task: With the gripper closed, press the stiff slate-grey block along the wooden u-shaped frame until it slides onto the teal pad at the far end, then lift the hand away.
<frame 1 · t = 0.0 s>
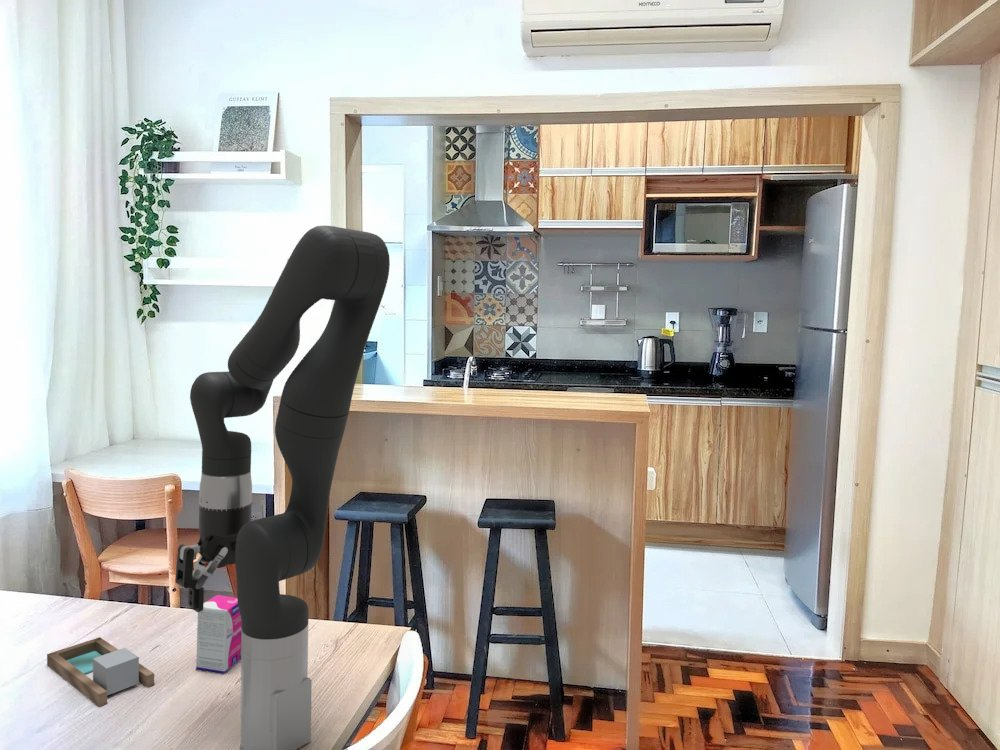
hand: (223, 601, 107), 17 cm above the table, tool pointing down, fingers open, 8 cm apart
wooden u-shaped frame: (99, 675, 116), on the table
supplement box: (220, 665, 121), on the table
jammed block: (115, 670, 113), point 3 cm above the table, slide at 0.0 cm
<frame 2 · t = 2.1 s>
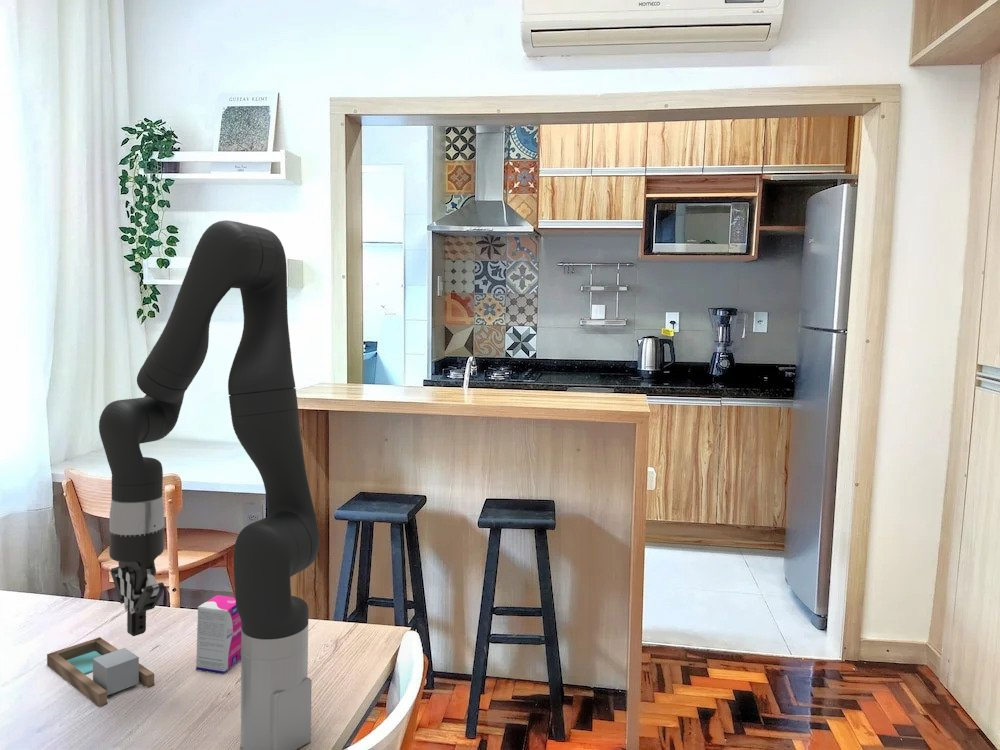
hand: (136, 633, 108), 11 cm above the table, tool pointing down, fingers closed
nothing on the table moved.
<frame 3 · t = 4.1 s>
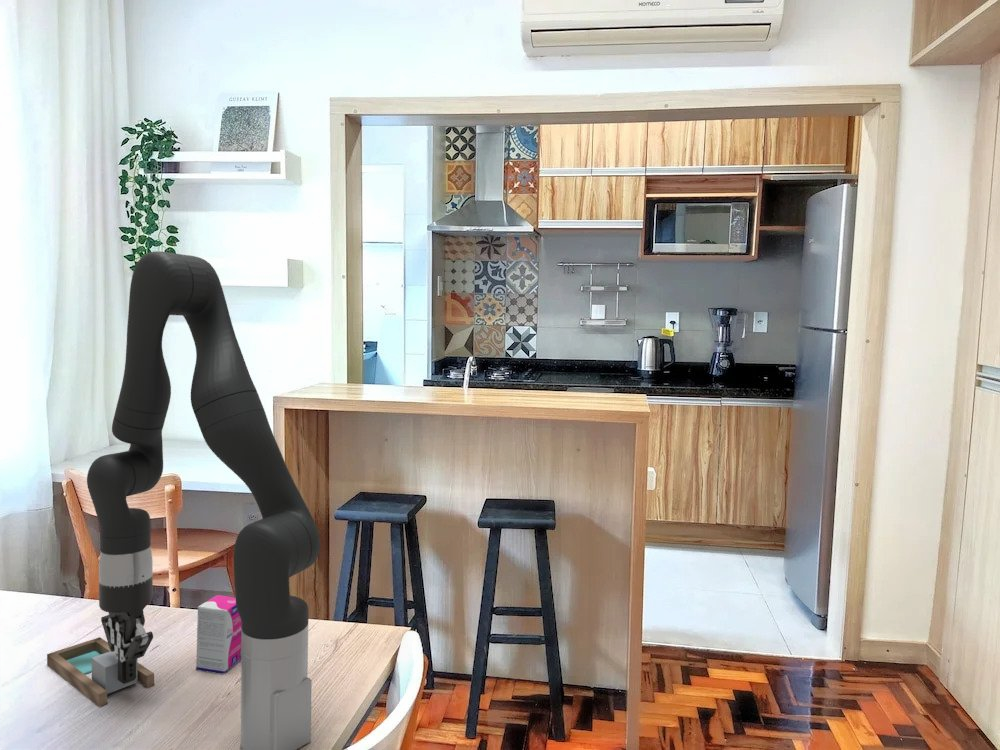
hand: (126, 680, 110), 3 cm above the table, tool pointing down, fingers closed
jammed block: (114, 670, 113), point 3 cm above the table, slide at 0.5 cm, touching gripper
everything else where it was.
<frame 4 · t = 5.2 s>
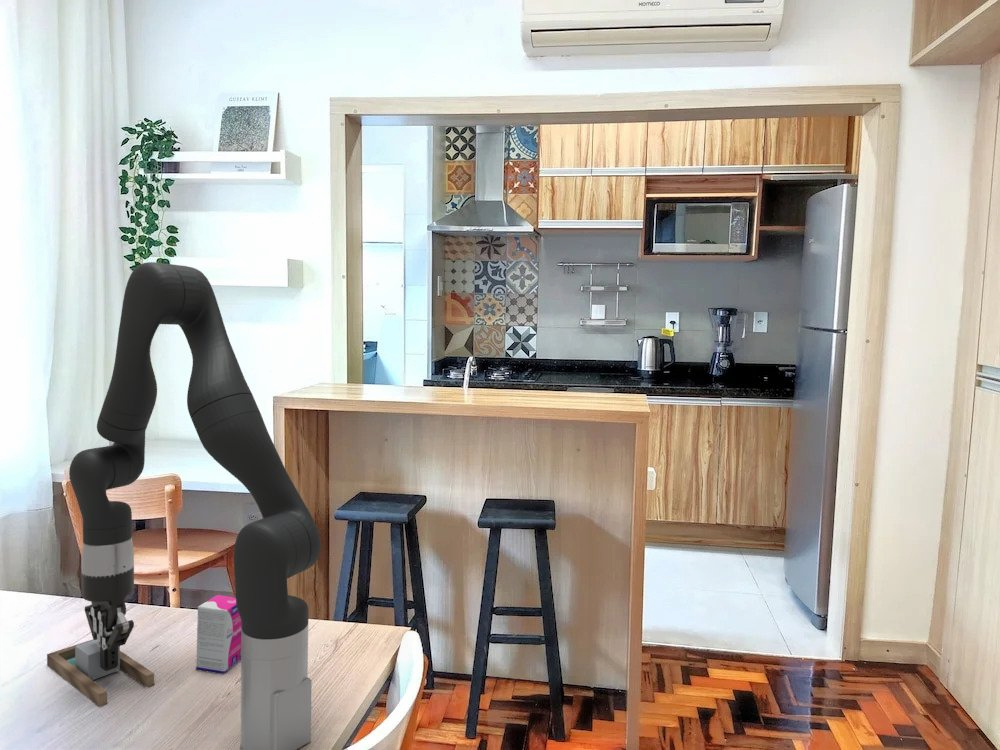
hand: (109, 667, 114), 3 cm above the table, tool pointing down, fingers closed
jammed block: (97, 658, 117), point 3 cm above the table, slide at 6.7 cm, touching gripper
everything else where it was.
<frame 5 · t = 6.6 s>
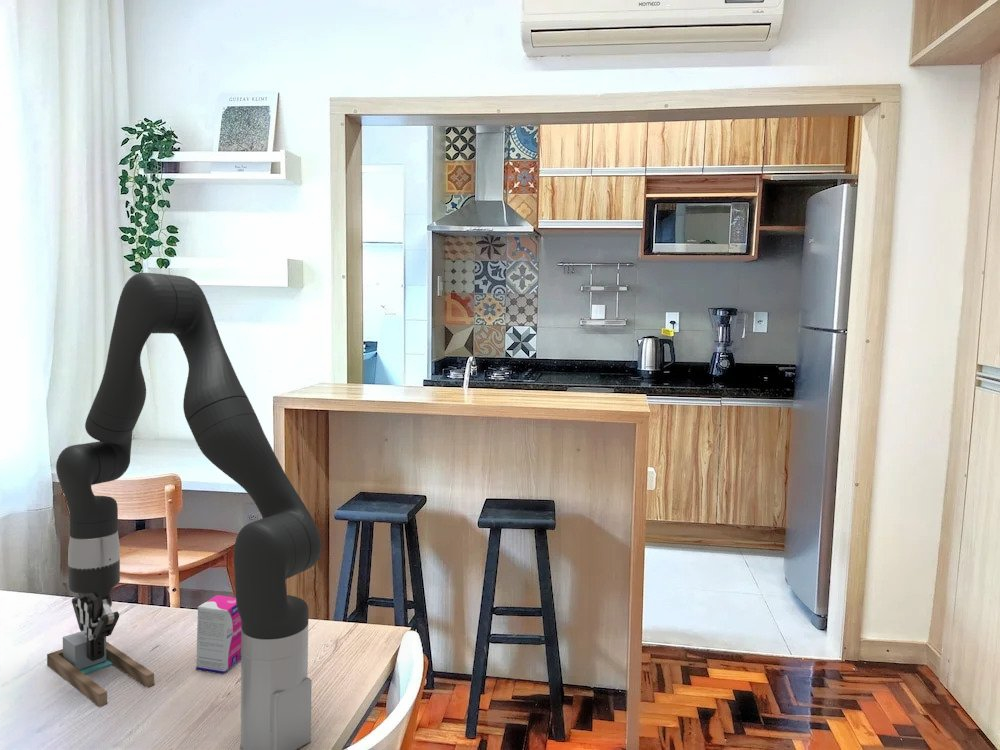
hand: (95, 658, 117), 3 cm above the table, tool pointing down, fingers closed
jammed block: (84, 648, 120), point 3 cm above the table, slide at 11.9 cm, touching gripper
everything else where it was.
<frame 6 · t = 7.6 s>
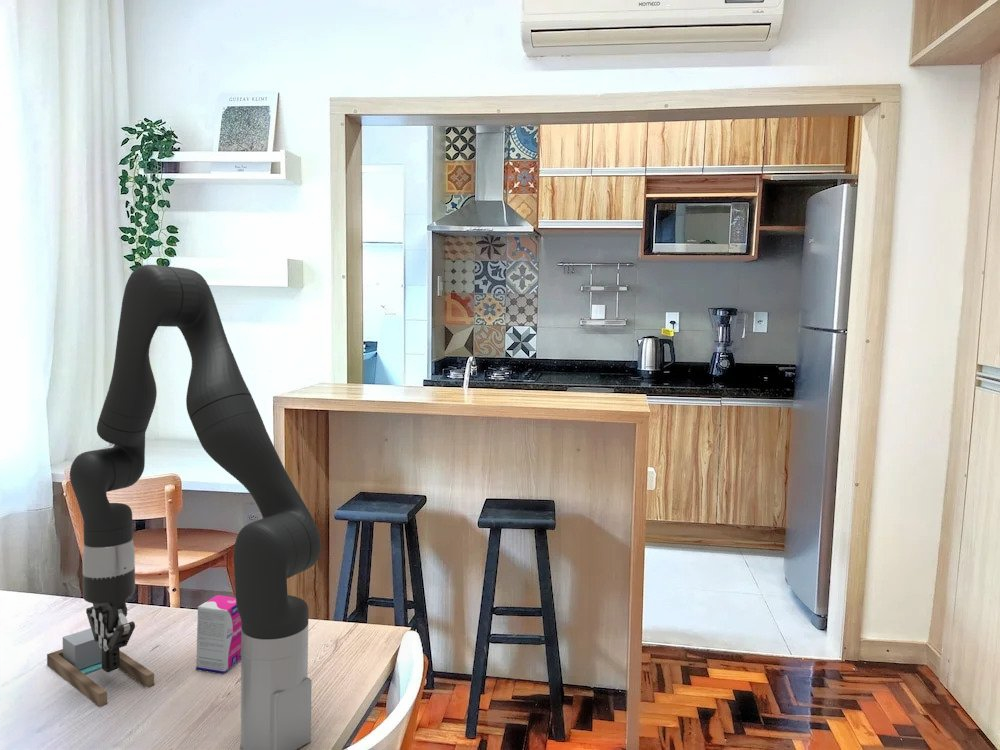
hand: (110, 669, 114), 2 cm above the table, tool pointing down, fingers closed
jammed block: (84, 648, 120), point 3 cm above the table, slide at 11.9 cm
everything else where it was.
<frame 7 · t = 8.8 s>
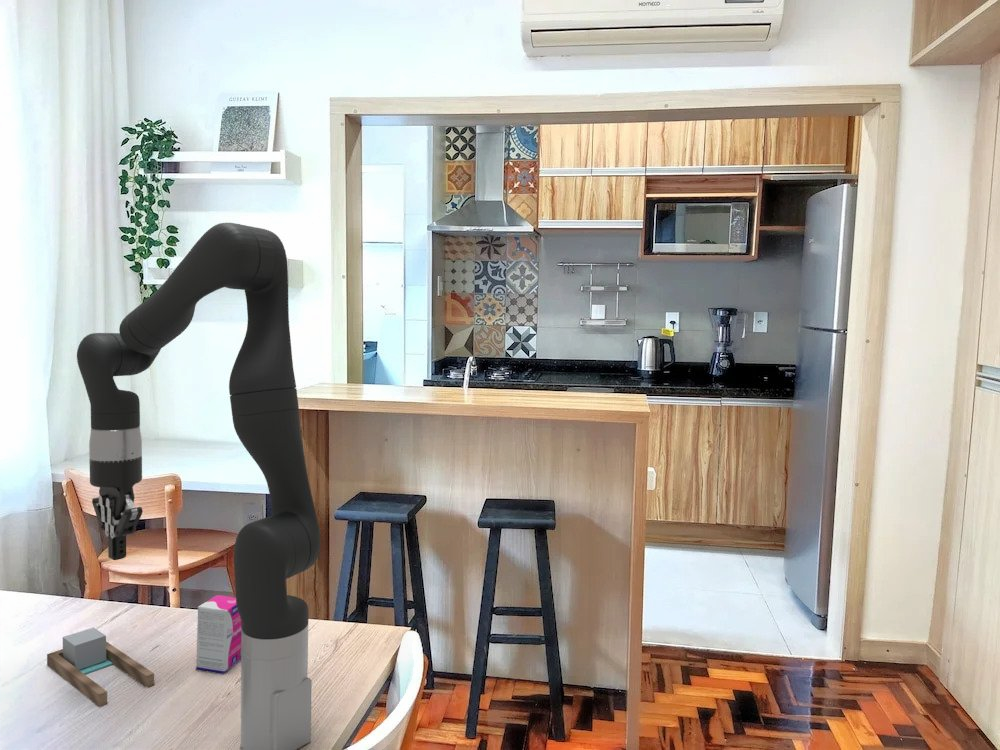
hand: (117, 558, 113), 21 cm above the table, tool pointing down, fingers closed
nothing on the table moved.
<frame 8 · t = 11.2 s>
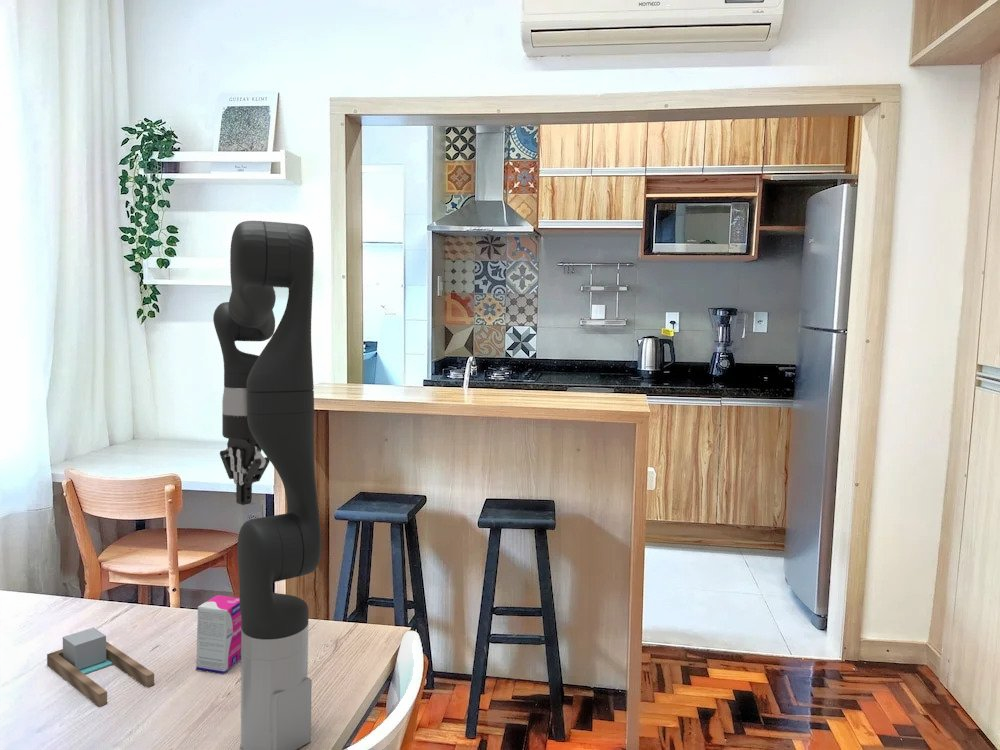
hand: (243, 503, 127), 27 cm above the table, tool pointing down, fingers closed
nothing on the table moved.
at the end: jammed block slide at 11.9 cm; supplement box moved 0.2 cm from its start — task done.
